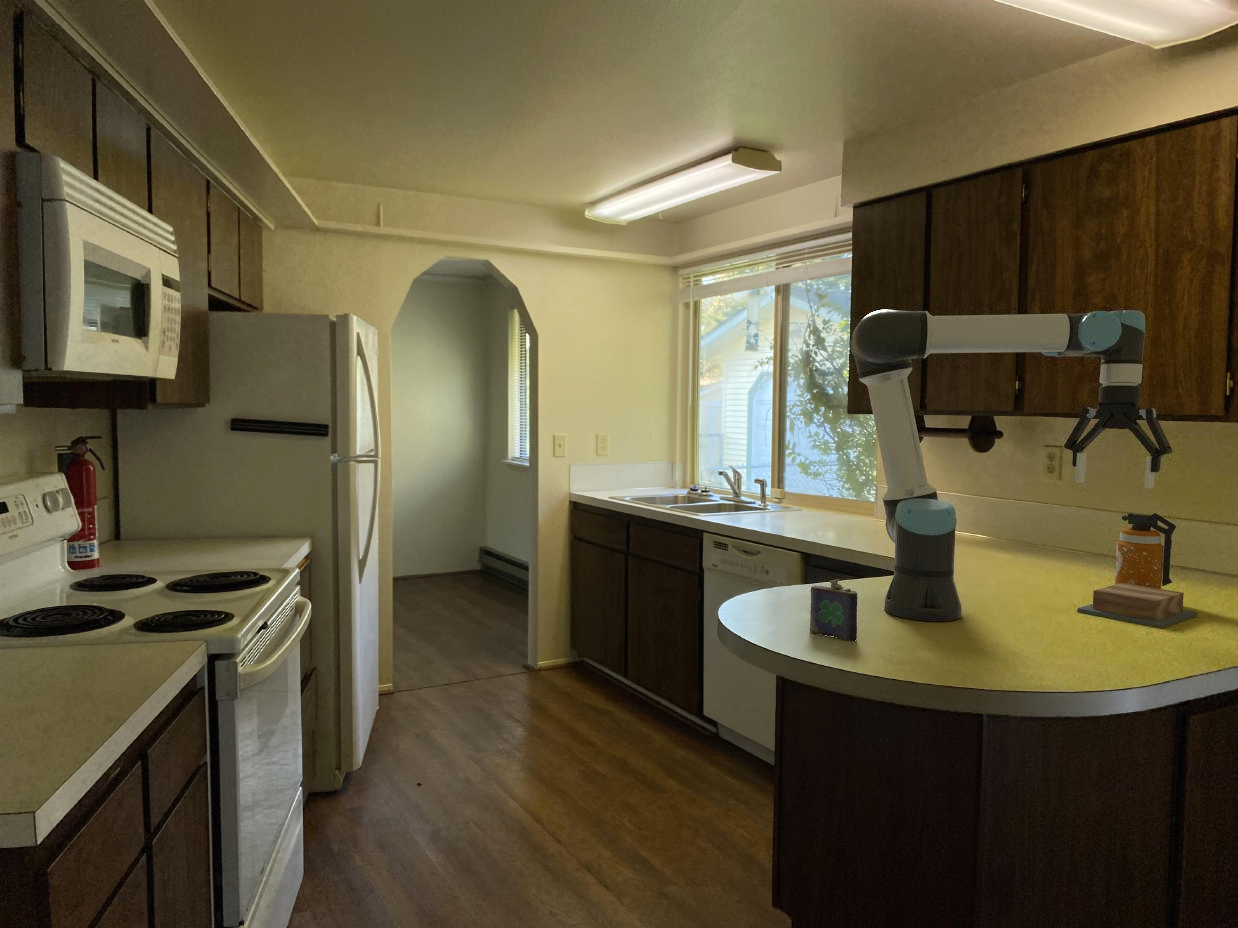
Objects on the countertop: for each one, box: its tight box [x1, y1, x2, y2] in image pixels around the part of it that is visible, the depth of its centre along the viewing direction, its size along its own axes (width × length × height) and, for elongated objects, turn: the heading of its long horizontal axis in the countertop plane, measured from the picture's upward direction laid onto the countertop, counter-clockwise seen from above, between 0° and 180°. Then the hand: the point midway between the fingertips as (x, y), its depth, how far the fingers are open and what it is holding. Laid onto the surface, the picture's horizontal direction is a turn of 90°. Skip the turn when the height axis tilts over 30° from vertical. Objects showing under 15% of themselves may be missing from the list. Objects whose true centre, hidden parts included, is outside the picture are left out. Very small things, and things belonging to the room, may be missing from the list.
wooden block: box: [1092, 583, 1185, 621], centre depth 170 cm, size 14×12×4 cm
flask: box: [809, 578, 858, 642], centre depth 150 cm, size 9×3×11 cm, turn 48°
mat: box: [1076, 603, 1198, 629], centre depth 170 cm, size 18×16×1 cm
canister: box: [1114, 512, 1177, 589], centre depth 183 cm, size 9×11×20 cm
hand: (1113, 485), depth 171 cm, fingers open, 13 cm apart
